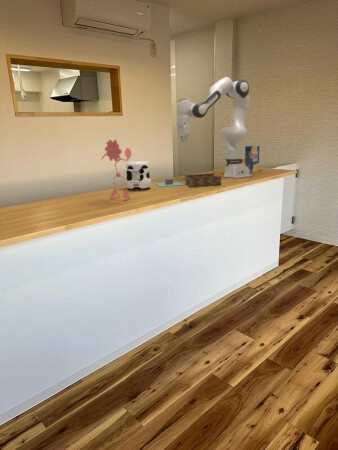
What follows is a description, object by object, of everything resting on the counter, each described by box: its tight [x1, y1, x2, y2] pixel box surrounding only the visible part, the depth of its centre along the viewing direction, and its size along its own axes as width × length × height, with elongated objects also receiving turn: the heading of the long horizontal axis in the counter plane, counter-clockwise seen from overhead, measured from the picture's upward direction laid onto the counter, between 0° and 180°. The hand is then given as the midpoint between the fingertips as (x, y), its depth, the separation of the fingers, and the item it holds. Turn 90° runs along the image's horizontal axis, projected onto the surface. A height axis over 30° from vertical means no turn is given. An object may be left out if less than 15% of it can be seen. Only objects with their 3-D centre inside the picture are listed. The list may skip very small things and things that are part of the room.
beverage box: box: [244, 145, 260, 174], centre depth 286 cm, size 7×11×22 cm, turn 130°
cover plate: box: [155, 178, 184, 188], centre depth 238 cm, size 18×12×5 cm, turn 102°
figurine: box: [100, 139, 132, 205], centre depth 189 cm, size 15×26×35 cm, turn 51°
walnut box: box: [184, 172, 222, 188], centre depth 234 cm, size 22×15×6 cm, turn 102°
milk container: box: [125, 160, 152, 191], centre depth 224 cm, size 17×17×18 cm
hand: (183, 141), depth 246 cm, fingers open, 8 cm apart
